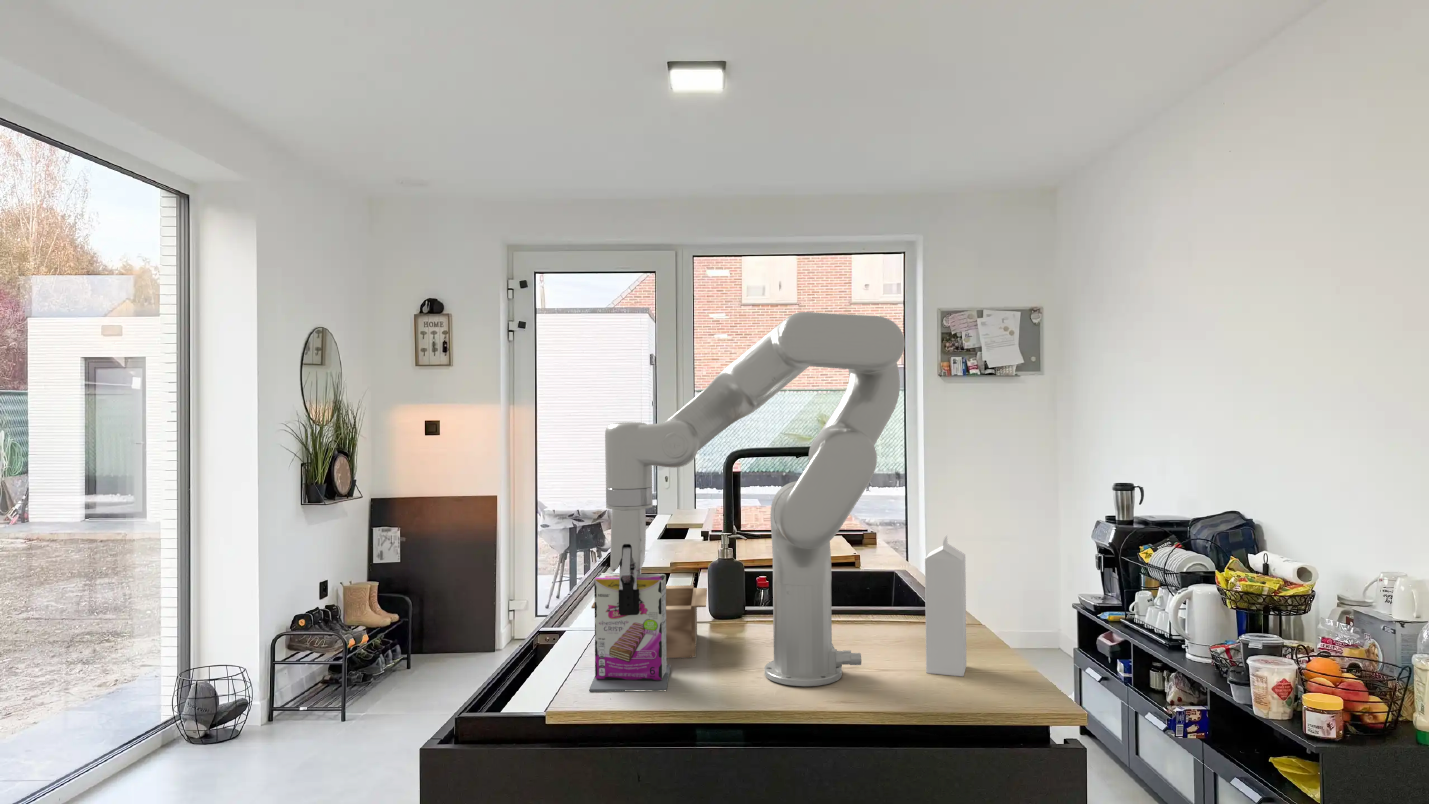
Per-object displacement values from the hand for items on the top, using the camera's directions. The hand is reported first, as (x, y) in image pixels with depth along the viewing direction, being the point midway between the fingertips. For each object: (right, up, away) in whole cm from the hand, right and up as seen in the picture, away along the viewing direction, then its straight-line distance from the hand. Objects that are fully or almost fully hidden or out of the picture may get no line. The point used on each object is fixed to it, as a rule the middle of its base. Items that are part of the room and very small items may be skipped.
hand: (631, 608), depth 143 cm
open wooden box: (+2, -11, +19) cm, 22 cm away
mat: (0, -11, 0) cm, 11 cm away
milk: (+52, -11, +3) cm, 53 cm away
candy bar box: (0, -11, 0) cm, 11 cm away
